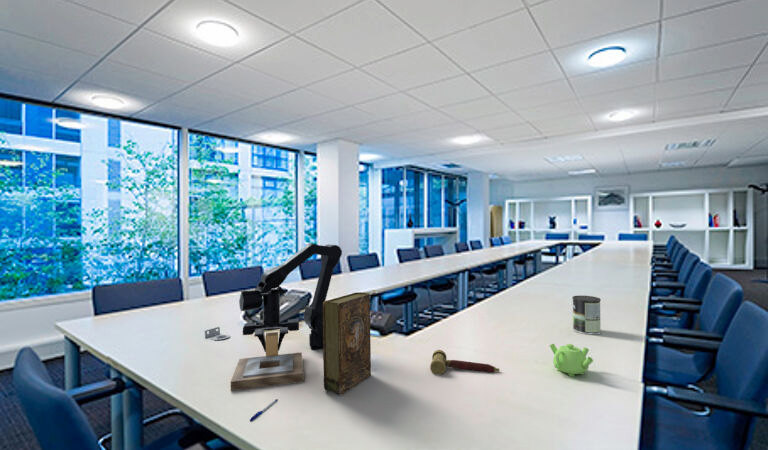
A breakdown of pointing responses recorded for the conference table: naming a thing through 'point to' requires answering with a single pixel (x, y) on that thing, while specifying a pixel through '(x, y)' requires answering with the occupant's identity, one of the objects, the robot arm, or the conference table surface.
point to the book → (346, 342)
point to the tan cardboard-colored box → (271, 344)
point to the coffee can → (586, 315)
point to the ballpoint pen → (262, 411)
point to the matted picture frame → (268, 371)
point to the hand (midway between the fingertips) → (272, 351)
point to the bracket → (214, 332)
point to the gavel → (457, 364)
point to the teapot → (571, 359)
